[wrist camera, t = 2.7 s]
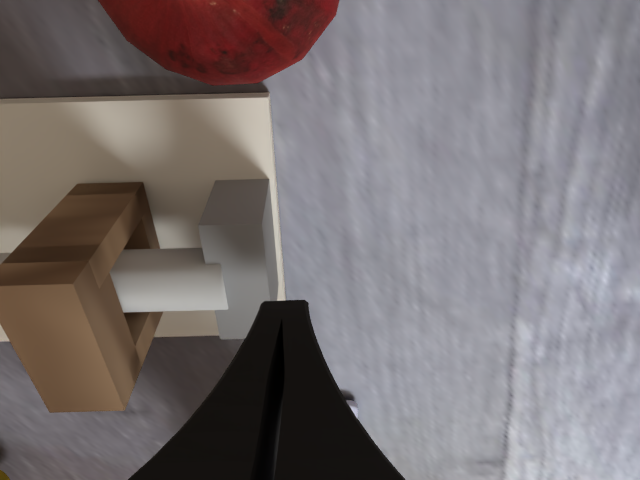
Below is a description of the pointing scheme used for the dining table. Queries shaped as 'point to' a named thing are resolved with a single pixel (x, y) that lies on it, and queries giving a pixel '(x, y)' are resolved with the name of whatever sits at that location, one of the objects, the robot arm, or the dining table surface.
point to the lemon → (3, 476)
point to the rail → (160, 196)
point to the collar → (80, 299)
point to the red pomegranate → (223, 34)
